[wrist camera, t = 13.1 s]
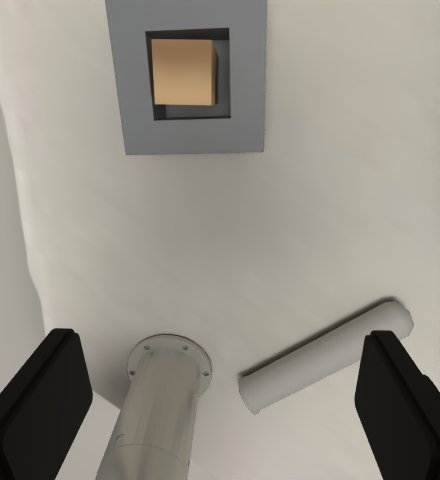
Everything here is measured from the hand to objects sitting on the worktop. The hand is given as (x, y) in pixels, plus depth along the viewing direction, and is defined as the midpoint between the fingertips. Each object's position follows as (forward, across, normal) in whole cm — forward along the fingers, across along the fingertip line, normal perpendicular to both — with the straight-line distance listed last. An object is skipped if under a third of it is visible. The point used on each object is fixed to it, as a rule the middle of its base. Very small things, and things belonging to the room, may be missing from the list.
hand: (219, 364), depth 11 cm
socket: (+30, +3, -10) cm, 32 cm away
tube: (+31, -12, +25) cm, 41 cm away
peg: (+29, +4, -10) cm, 31 cm away
